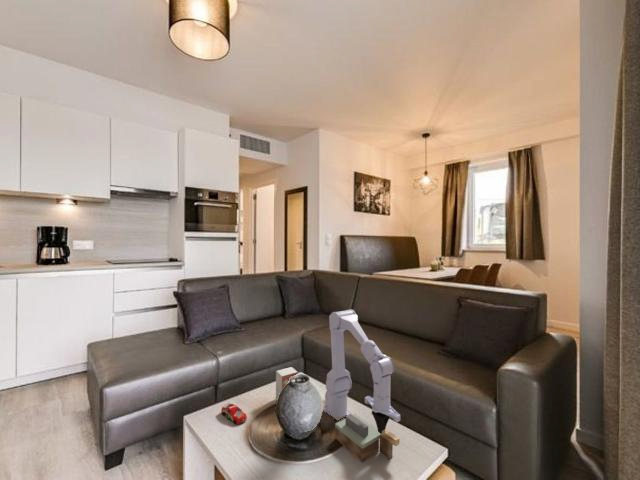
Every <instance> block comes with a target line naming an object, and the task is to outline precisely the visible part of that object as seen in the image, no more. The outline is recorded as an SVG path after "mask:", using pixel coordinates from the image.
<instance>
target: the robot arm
mask: <svg viewBox="0 0 640 480" xmlns="http://www.w3.org/2000/svg"><path fill="white" fill-rule="evenodd" d="M328 319H329V320H328V322H329V323H328V324H329V330H330V341H331V343H330V344H331V369H330V371H329V372H328V373H327V374H326V381H325V390H326V391H325V394H324V408H323V409H324V411H323V412H324V413H326V412H327V413H328V414H330V415H331V416H334V417H343V416H345V415H349V414H352V412H350V410H348V394H349V393H350V390H351V389H352V385H353V383H352V379H351V372H350V371H348V370H347V369H346V362H345V361H346V359H345V358H346V357H345V339H344V337H345V335H344V332H345V331H349V332H350V334H352V337H354V338H355V340H357V342H358V343H359V344H360V351H361V354H363V356H364V357H365V358H366V360H367V362H368V363H369V364H370V365H369V370H370V373H371V376H372V381H373V397H372V396H370V395H367V396H365V397H364V404H369V406H370V407H371V408H372V409H371V410H372V411H371V415H372V416H373V419H374V421H375V424H376V429H377V430H378V432H379V433H380V434H382V430H384V429H386V428H387V424H388V422H389V420H390V418H391V419H393V421H394V422H395V423H399V422H400V421H401V414H400V413H399V412H398V411H396V409H394V408H393V406H391V386H392V385H391V376H392V374H393V373H394V372H395V364H394V362H393V360H392V358H391V357H390V356H387V355H386V354H383V352H382V351H381V350H380V348H379V347H378V345H377V344H376V342H374V340H372V339H369V338H368V336H367V335H366V333H365V331H364V330H363V328H362V326H361V325H360V323H359V316H358V314H357V313H356V312H355V310H354V309H351V308H350V309H346V310H342V311H341V310H340V311H333V312H331V313H330V314H329V316H328ZM327 413H326V414H327ZM328 414H327V415H328ZM330 415H329V416H330ZM352 415H353V414H352ZM331 416H330V417H331ZM338 420H339V419H338ZM339 421H340V420H339Z"/></svg>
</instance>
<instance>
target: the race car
mask: <svg viewBox="0 0 640 480" xmlns="http://www.w3.org/2000/svg"><path fill="white" fill-rule="evenodd" d="M220 411H221V415H222V416H223V417H224V418H226V419H227V420H229V421H230V422H232V423H233V424H234V425H241V424H243V423H245V422H246V421H247V417H248V415H247V413H245V412H244V411H243V410H242V408H240V407H239V406H237V405H236V404H233V403H226V404H224V405H223V406H222V407H221V410H220Z"/></svg>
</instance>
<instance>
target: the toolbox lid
mask: <svg viewBox="0 0 640 480" xmlns="http://www.w3.org/2000/svg"><path fill="white" fill-rule="evenodd" d="M334 425H335V427H336V428H337V429H339V430H340V431H341V432H342V433H344V434H345V435H346V436H347V437H348V438H350V439H351V440H352V441H353V442H355V443H356V444H357V445H358V446H360V447H361V448H362V449H363V448H365V447H366V446H368V445H370V444H371V443H373V442H375V441H376V440H378V439H379V440H380V436H381V435H382V434H380V433H379V432H378V429H377V427H374V425H372V424H370V423H369V422H368V421H366V420H365V419H363V418H361V417H360V416H358V415H357V413H354V414H349V415H347V416H346V418H343V419H341V420H339V421H337V422H336V423H334ZM335 427H334V428H335Z"/></svg>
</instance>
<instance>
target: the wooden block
mask: <svg viewBox="0 0 640 480" xmlns="http://www.w3.org/2000/svg"><path fill="white" fill-rule="evenodd" d="M382 437H383V438H385V439H386V440H387V441H389V442H390V443H392V444H393V446H395V447H398V446H399V445H400V437H398V436H397V435H395V434H394V433H392V432H391V431H389V430H388V429H386V428H385V429H384V430H382Z"/></svg>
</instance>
